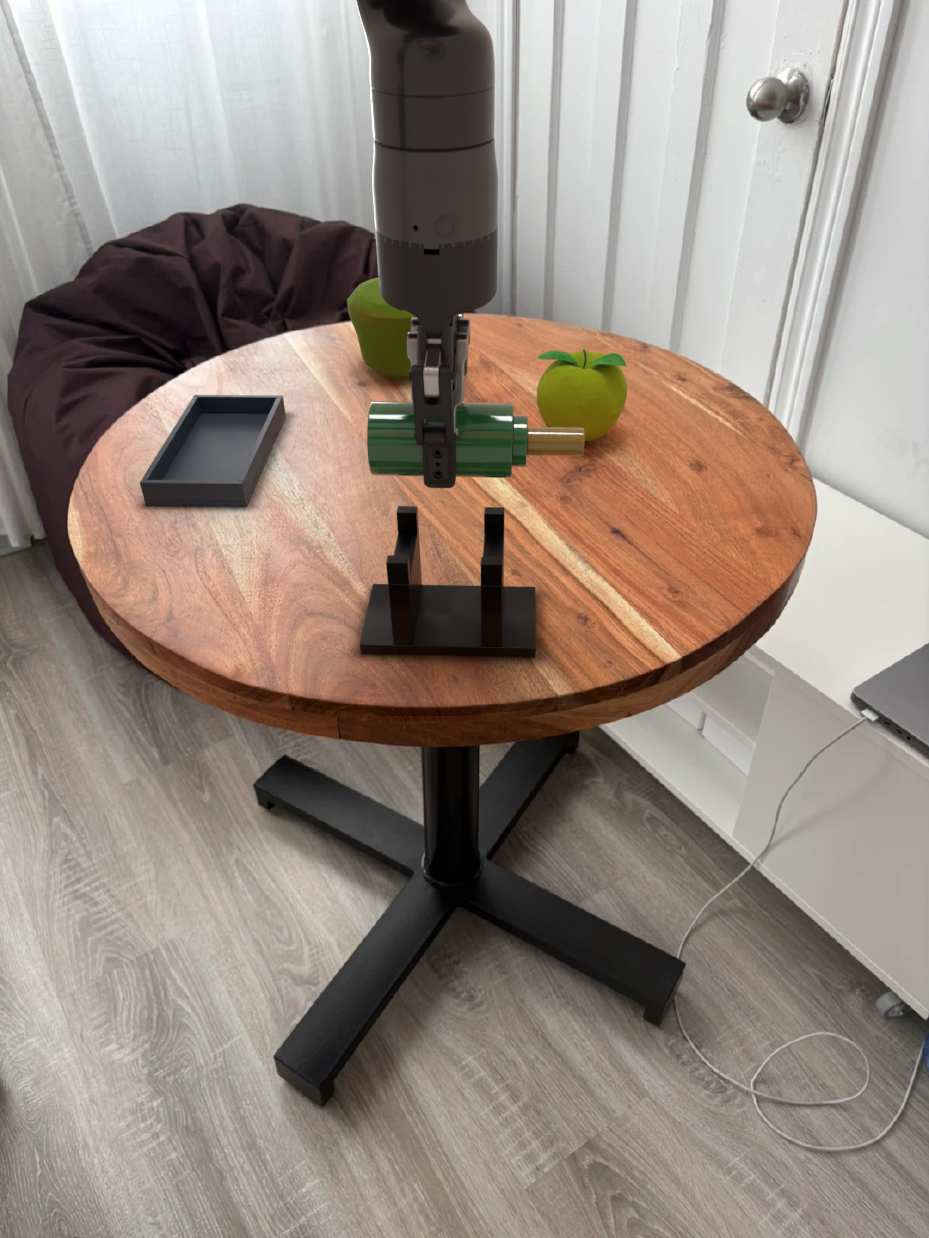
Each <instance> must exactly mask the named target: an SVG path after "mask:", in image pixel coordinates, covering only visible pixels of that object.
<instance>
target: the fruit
mask: <svg viewBox="0 0 929 1238" xmlns="http://www.w3.org/2000/svg"><path fill="white" fill-rule="evenodd" d="M537 359H540V360H545V361H547V360H548V361H549V360H554V361H552V362H551V363H550V364H549V365H548V366H547V367H546V368H545V370H544V372H543V373H542V375H541V377H540V379H539V381H538V383H537V388H536V405H537V408H538V412H539V415H540V417H541V419H542V421H543V422H544V424H545V425H546V427H561V428H584V433H585V440H584V443H585V442H591V441H596V440H597V439H600V438H601V437H602V436H604V435H605V434H606V433H608V432H609V431H610V430H611V429H612V428H613V427H614V425H616V423H617V421H618V420H619V418H620V416H621V414H622V412H623V410H624V407H625V404H626V402H627V396H628V387H627V386H628V383H627V380H626V376H625V374H624V372H623V370H622V368H621V367H627V362H626V360H625V359H624V357H623V356H622V355H620V354H619V353H615V352H611V353H607V354H605V353H601V352H592V351H588V350H586V348H583V349H579V350H576V351H574V352H571V353H569V352H566V351H563V350H548V351H546V352H543V353H541V354H539V355H538V356H537Z"/></svg>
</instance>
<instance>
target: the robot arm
mask: <svg viewBox="0 0 929 1238" xmlns="http://www.w3.org/2000/svg"><path fill="white" fill-rule="evenodd" d="M355 3H356V7H357V12H358V14H359V18H360V23H361V25H362V28H363V32H364V37H365V40H366V44H367V45H366V46H367V49H368V58H369V59H368V60H369V86H370V87H369V88H370V91H369V92H370V108H371V123H372V137H373V159H372V161H373V162H372V172H371V173H372V176H371V180H372V181H371V182H372V183H371V185H372V186H371V187H372V188H371V189H372V202H373V218H374V231H375V247H376V259H377V260H376V261H377V276H378V278H379V291H380V295H381V297H382V298H383V300H384V301H385V302H386V303H387V304H388V305H390V306H391V307H393V308H395V309H398V310H400V311H403V310H404V311H407V312H409V313H411V314H413V315H414V316H415V317H417V318H412V319H411V332H408V334H407V356H408V358H409V360H410V361H411V371H409V379H411V380H410V399H411V402H413V409H414V422H415V432H414V440H416V445H422V453H423V476H422V477H423V485H424V486H425V487H426V488H430V489H451V488H454V486H455V485H456V480H457V477H456V455H455V441H456V436H458V428H457V429H456V408H457V406H459V405H460V404H461V403H464V401H465V377H466V376H467V374H468V368H469V366H468V365H469V346H470V344H471V331H472V329H471V318H470V317H466V318H465V317H464V312H473V311H476V310H478V309H480V308H483V307H484V306H486V305H487V304H489V303H490V302H491V301H492V300H493V299H494V298H495V296H496V294H497V291H498V250H499V249H498V246H499V245H498V243H499V242H498V241H499V240H498V236H499V172H498V163H497V155H496V146H495V145H496V141H495V139H496V138H495V124H496V123H495V121H496V119H495V118H496V117H495V115H496V97H495V96H496V61H495V59H496V58H495V48H494V42H493V39H492V35H491V32H490V31H489V29H488V28H487V27H486V26H485V24H484V23H483V22H482V21H481V20H480V18H478V17H477V16H476V15H475V14H474V13H473V12H472V11H471V9H470V7H469V5H468V3H467V0H355ZM427 419H443V420H444V421H445V423H432V422H427Z"/></svg>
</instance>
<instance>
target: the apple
mask: <svg viewBox="0 0 929 1238" xmlns="http://www.w3.org/2000/svg"><path fill="white" fill-rule="evenodd" d="M346 305H347V312H348V316H349V320H350V321H351V325H352V326H353V328H354V331H355V334H356V336H357V341H358V344H359V345H358V346H359V349H360V353H361V358H362V360H363V362H364V364H365V366H367V367H368V368H370V369H371V370H373V371H375V372H376V373H377V374H379V375H381V376H382V377H383V378H387V379H390V380H393V381H394V380H395V381H400V382H401V381H403V382H404V381H411V379H409V371H411V361H410V360H409V358H408V356H407V334H408V332H411V319H412V318H417V317H415V316H414V315H413V314H411V313H409V312H407V311H404V310H403V311H400V310H398V309H395V308H393V307H391V306H390V305H388V304H387V303H386V302H385V301H384V300H383V298H382V297H381V295H380V291H379V278H378V277H374V278H371V279H368V280H366V281H363V282H361V283H359V284H358V286H357V287H356V288H355V289H354V291H352V293H351V294H350V295H349V297H347V299H346Z"/></svg>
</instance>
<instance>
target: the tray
mask: <svg viewBox="0 0 929 1238" xmlns="http://www.w3.org/2000/svg"><path fill="white" fill-rule="evenodd" d="M286 417H287V413H286V408H285V402H284V396H283V395H281V394H280V395H279V394H278V395H277V394H276V395H275V394H274V395H272V394H271V395H270V394H268V395H267V394H266V395H265V394H193V396H192V397H191V399H190V401H189V403H188V404H187V405H186V407H185V409H184V410H183V412H182V413H181V415H180V417H179V419H178V420H177V422H176V423H175V425H174V427H173V428H172V430H171V431H170V433H169V435H168V436H167V438H166V440H165V441H164V443H163V444H162V446H161V447H160V449H159V450H158V452H157V454H156V455H155V457H154V459H153V460H152V462H151V464H150V465H149V466H148V468H147V470H146V471H145V473H144V475H143V476H142V477H141V480H140V481H139V485H140V489H141V493H142V496H143V500H144V503H145V506H188V507H189V506H190V507H192V506H194V507H195V506H197V507H198V506H200V507H247V506H248V504H249V502H250V500H251V498H252V495H253V493H254V490H255V487H256V485H257V483H258V481H259V479H260V476H261V475H262V472H263V470H264V467H265V465H266V463H267V460H268V458H269V456H270V454H271V451H272V449H273V447H274V444H275V442H276V440H277V437H278V436H279V433H280V431H281V428H282V426H283V424H284V421H285V419H286Z"/></svg>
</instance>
